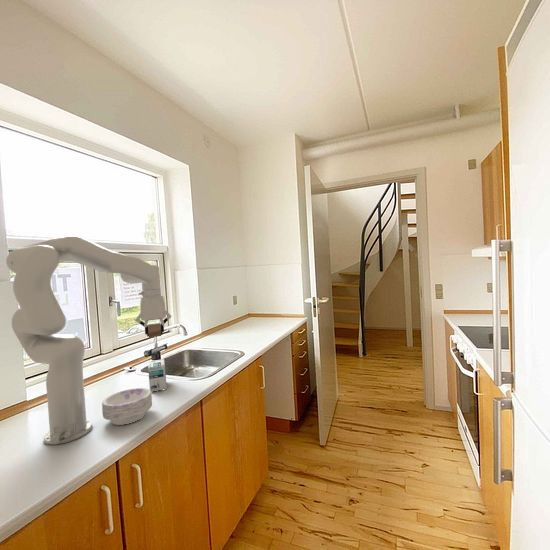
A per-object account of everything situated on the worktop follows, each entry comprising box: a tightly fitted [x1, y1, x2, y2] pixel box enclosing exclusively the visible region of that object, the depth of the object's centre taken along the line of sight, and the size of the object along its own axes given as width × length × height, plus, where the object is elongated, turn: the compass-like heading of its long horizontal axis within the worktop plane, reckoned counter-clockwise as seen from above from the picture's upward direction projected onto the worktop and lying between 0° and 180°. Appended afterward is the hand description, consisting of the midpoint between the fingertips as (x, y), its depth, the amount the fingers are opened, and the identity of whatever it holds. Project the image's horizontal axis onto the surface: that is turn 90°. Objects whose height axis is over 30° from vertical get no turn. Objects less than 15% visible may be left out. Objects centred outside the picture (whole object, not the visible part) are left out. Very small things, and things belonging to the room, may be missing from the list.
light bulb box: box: [147, 358, 167, 393], centre depth 127 cm, size 11×7×11 cm, turn 22°
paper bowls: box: [101, 387, 153, 426], centre depth 100 cm, size 15×15×8 cm
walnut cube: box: [147, 322, 162, 338], centre depth 126 cm, size 5×5×5 cm
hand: (154, 334), depth 126 cm, fingers closed on walnut cube, 4 cm apart
